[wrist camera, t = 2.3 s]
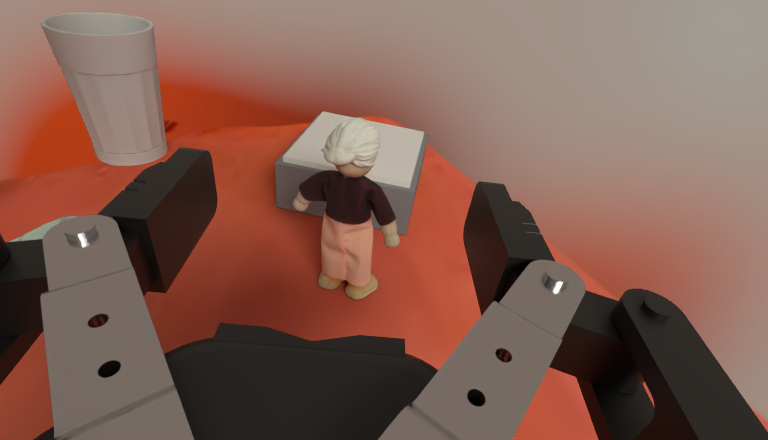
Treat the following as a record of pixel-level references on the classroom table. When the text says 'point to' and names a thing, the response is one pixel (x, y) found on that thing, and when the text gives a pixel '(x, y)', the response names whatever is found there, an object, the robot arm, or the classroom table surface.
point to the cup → (112, 82)
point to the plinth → (390, 171)
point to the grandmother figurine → (349, 208)
